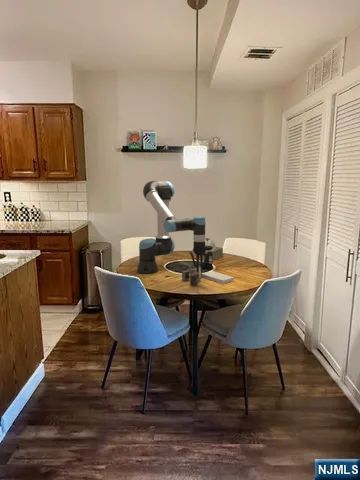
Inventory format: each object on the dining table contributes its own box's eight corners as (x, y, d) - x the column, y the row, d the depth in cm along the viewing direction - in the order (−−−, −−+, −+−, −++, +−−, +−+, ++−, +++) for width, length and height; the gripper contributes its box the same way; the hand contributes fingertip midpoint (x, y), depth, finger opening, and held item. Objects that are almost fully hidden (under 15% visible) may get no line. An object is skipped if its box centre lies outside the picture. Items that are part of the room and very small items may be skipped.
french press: (211, 266, 251) (212, 237, 247) (214, 269, 242) (215, 239, 238) (197, 266, 249) (197, 237, 245) (199, 270, 240) (200, 239, 236)
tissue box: (212, 255, 290) (213, 237, 287) (222, 256, 285) (223, 239, 282) (202, 259, 275) (203, 240, 272) (213, 260, 269) (213, 242, 267)
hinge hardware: (188, 282, 211) (188, 271, 209) (181, 279, 216) (181, 269, 214) (205, 277, 221) (205, 267, 220) (198, 275, 226) (198, 265, 225)
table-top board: (222, 284, 208) (222, 280, 208) (201, 277, 222) (202, 273, 222) (233, 280, 215) (233, 277, 215) (212, 274, 229) (213, 271, 229)
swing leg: (190, 285, 203) (190, 276, 202) (195, 278, 219) (195, 269, 218) (196, 286, 203) (196, 276, 201) (200, 278, 218) (200, 269, 217)
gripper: (208, 239, 208) (208, 275, 212) (188, 240, 207) (189, 275, 211) (210, 241, 201) (210, 278, 205) (190, 242, 200) (190, 278, 204)
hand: (199, 277), depth 208 cm, fingers closed
